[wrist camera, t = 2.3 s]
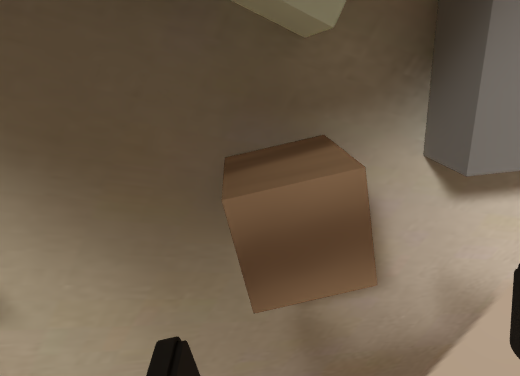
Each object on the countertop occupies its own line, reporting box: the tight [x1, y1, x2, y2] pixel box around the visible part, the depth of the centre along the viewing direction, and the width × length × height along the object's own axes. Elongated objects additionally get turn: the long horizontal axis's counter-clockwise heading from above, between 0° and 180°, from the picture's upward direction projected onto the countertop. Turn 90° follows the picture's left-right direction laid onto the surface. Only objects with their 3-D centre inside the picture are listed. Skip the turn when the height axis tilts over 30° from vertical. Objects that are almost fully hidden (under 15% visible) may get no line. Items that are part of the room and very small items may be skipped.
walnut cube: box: [222, 135, 377, 313], centre depth 16 cm, size 6×6×6 cm
